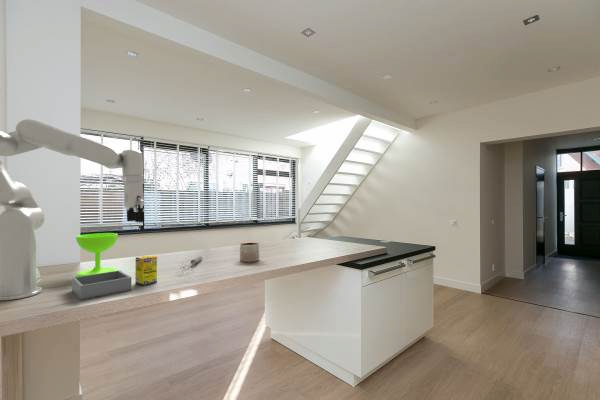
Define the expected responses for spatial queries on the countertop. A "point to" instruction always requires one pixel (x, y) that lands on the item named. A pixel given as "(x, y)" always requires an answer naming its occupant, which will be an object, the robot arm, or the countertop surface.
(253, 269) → the countertop surface
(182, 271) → the kitchen whisk
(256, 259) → the planter
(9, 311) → the countertop surface
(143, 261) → the supplement box
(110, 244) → the wineglass
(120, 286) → the bin
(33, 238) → the robot arm
